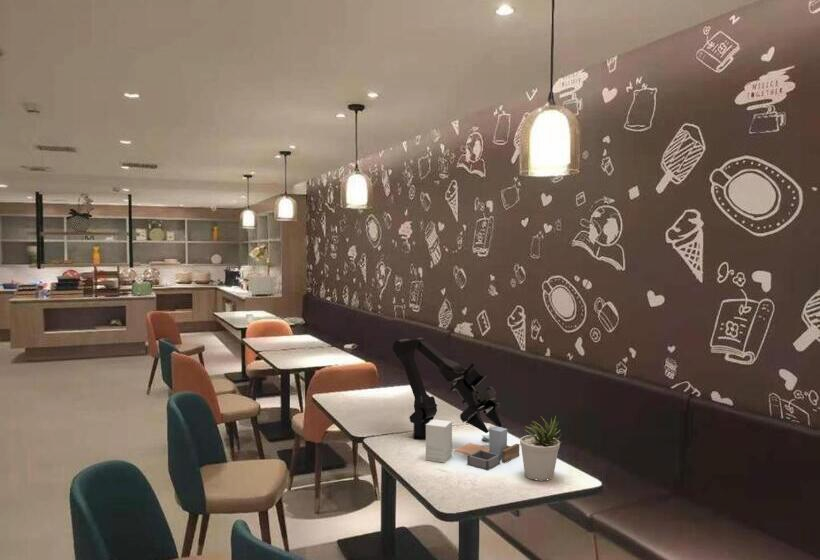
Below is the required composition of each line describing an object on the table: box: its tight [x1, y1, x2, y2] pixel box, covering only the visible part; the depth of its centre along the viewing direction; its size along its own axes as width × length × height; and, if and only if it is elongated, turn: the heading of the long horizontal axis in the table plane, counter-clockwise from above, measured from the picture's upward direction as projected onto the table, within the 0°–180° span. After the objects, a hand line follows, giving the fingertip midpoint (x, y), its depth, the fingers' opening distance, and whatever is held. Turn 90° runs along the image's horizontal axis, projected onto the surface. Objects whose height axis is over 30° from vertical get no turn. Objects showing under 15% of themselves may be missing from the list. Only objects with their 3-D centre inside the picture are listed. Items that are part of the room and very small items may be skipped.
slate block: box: [488, 425, 508, 461], centre depth 207 cm, size 4×4×10 cm
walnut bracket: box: [501, 443, 521, 464], centre depth 208 cm, size 9×10×4 cm
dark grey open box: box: [467, 450, 501, 471], centre depth 200 cm, size 8×8×3 cm
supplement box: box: [425, 418, 453, 464], centre depth 204 cm, size 7×7×13 cm
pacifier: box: [481, 424, 496, 443], centre depth 225 cm, size 7×6×6 cm
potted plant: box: [519, 415, 563, 481], centre depth 188 cm, size 13×14×20 cm
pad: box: [454, 442, 489, 456], centre depth 213 cm, size 10×10×1 cm
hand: (494, 429), depth 207 cm, fingers open, 9 cm apart
